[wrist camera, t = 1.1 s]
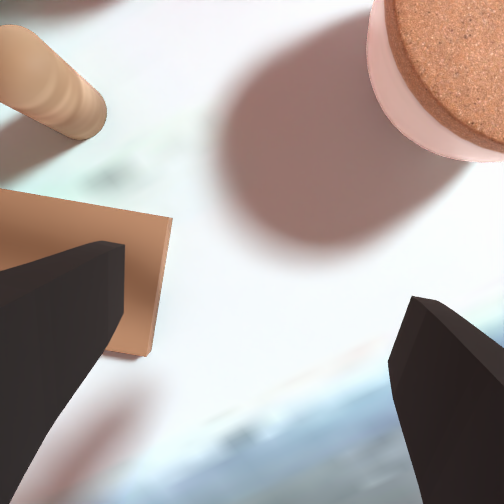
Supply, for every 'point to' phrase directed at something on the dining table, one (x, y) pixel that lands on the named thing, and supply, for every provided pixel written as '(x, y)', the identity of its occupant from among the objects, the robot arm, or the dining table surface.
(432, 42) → the lidded jar
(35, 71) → the dowel
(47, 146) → the dining table surface
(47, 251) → the tan flat wooden block
